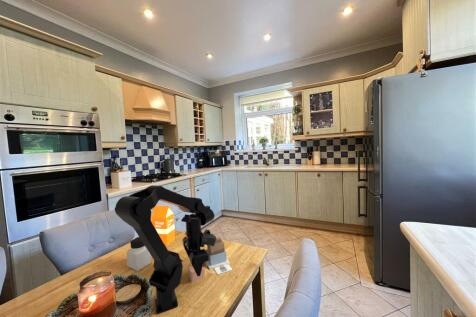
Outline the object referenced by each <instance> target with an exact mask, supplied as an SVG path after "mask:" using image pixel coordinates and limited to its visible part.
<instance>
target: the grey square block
mask: <svg viewBox="0 0 476 317" xmlns="http://www.w3.org/2000/svg"><path fill="white" fill-rule="evenodd" d="M205 250H206V251H207V252H208V254H209V261H207V262H204V263H205V264H206V266H207V268H208V269H209V270H214V268H217V267H220V266H222V265H223V266H224V265H227V264H229V265H230V264H231V262H230V260H229V259H228V257H227V251H226V250H225V252H224V253H220V254H216V255H212V256H211V255H210V253H209V251H208V250H207V248H206V249H205Z"/></svg>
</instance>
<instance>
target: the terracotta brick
mask: <svg viewBox="0 0 476 317" xmlns="http://www.w3.org/2000/svg"><path fill="white" fill-rule="evenodd" d="M187 276H188V278H189V280H190V282H191V283H192V284H193V283H196V282H199V281H201V280H204V279H205V276H206V275H205V267H204V266H203V267H202V271H201V275H200V276H197V274H196V272H195V270H194V268H193V266H192V264H191V265H188V266H187Z"/></svg>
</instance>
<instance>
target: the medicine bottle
mask: <svg viewBox="0 0 476 317" xmlns="http://www.w3.org/2000/svg"><path fill="white" fill-rule="evenodd" d="M152 260H153V258H152V256H151V254H150V253H149V251H148V250H147V248H146V247H145V245H144V244H143V242H142V240H141V239H140V237H139V236H138V235H137V236H135V237H134V238H132V239H131V240H130V249H128V250H126V262H127V267H128V268H130V269H133V270H135V271H136V272H138V271H140V270H141V269H143V268H145V267H146V266H148V265H150V264H153V262H152Z"/></svg>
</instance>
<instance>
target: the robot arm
mask: <svg viewBox="0 0 476 317" xmlns="http://www.w3.org/2000/svg"><path fill="white" fill-rule="evenodd" d="M160 201H161V202H164V203H167V204H170V205H174V206H176V207H178V209H179V210H181V211H182V212H184V213H190V214H184V215H183V217H182V218H181V219H180V222H183V223H185V231H184V232H185V233H184V234H185V236H184V237H182V240H181V241H182V242H181V243H182V246H183V248H184V250H185V251H184V252H186V255H187V257H188V259H189V262H190V264H191V265H192V266H193V268H194V270H195V272H196V274H197V276H200V275H201V271H202V267H203V268H204V263H205V262H207V261H209V254H208V252H207V251H206V249H205V248H204V247H205V246H207V245H211V246H215V242H216V239H217V238H218V237H216V235H215V234H213V233H211V230H210V229H205V230H204V231H202V227H203V226H205V225H207V224H209V223H211V222H213V221H214V219H215V213H214V211H213V209H212V208H211V206H210V205H205V204H204V203H203V199H202V198H199V197H192V196H190V197H189V196H186V195H183V194H181V193H179V192H175V191H173V190H171V189H168V188H165V187H164V186H162V185H150V186H147V187H145V188H144V189H141V190H138V191H136V192H134V193H131V194H130V195H126V196H122V197H120V198H119V199H118V200H117V202H116V203H115V204H116V205H115V207H114V212H115V215H117V217H119V218H120V219H121V220H122V221H123V222H124V223H126V224H127V225H129V226H130V227H132V228H133V230H134V231H135V232H136V234H137V237H138V236H139V237H140V239H141V240H142V242H143V244H144V245H145V247H146V248H147V250H148V251H149V253H150V254H151V258H152V260H153V263H152V264H153V271H152V273H151V276H150V278H149V280H148V284H149V286H150V287H153V288H155V293H156V294H155V297H156V298H155V300H154V302H155V312H156V314H157V315H158V314H161V313H163V312H167V311H169V310H172V309H174V308H177V307H179V302H178V297H177V293H176V288H178V287H179V286H180V285H181V280H182V277H183V276H182V274H183V268H184V267H183V265H184V264H183V262H184V260H182V258H181V257H180V254H179V252H176V251H172V250H169V249H168V248H167V245H165V244H164V242H163V241H162V239H161V237H160V236H159V234H158V232H157V230H156V229H155V227H154V225H153V223H152V220H151V217H152V209H153V210H154V208H155V206H156V205H157V204H158V203H159V202H160Z"/></svg>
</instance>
